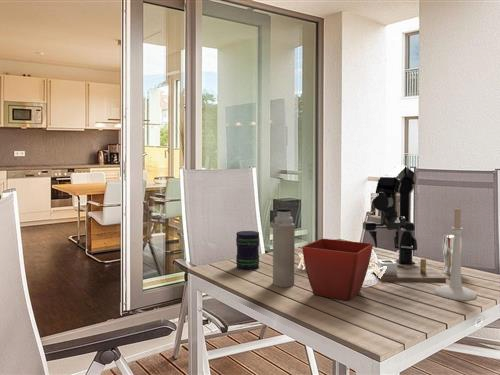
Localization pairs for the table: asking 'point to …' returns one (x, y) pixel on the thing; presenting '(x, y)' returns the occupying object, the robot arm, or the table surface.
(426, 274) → the board
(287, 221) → the thermos bottle
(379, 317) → the table surface
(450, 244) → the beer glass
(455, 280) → the candlestick
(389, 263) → the white small box
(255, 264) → the storage jar
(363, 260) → the plant pot
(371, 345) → the table surface
